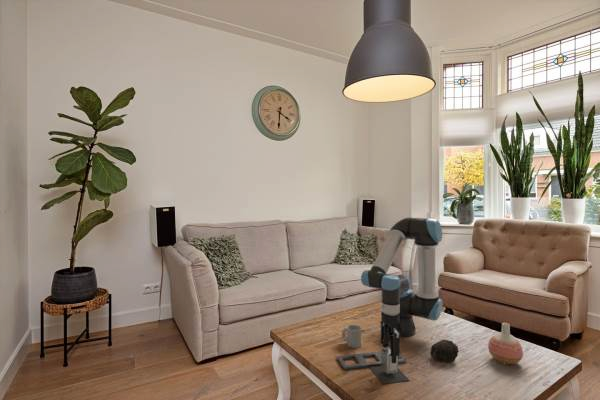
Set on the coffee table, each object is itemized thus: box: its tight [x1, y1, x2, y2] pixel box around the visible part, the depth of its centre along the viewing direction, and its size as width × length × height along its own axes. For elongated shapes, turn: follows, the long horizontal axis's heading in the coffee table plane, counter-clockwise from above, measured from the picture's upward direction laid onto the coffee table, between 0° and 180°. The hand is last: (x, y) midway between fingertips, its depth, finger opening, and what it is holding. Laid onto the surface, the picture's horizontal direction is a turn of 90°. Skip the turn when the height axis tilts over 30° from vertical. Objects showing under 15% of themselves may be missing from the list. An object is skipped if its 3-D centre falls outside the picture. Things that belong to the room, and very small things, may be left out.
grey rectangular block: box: [381, 348, 399, 374], centre depth 139 cm, size 5×5×8 cm
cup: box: [341, 324, 362, 349], centre depth 166 cm, size 7×10×9 cm
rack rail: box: [336, 350, 407, 371], centre depth 150 cm, size 30×10×1 cm, turn 102°
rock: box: [429, 339, 459, 363], centre depth 152 cm, size 10×11×10 cm
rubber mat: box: [369, 366, 410, 385], centre depth 139 cm, size 12×12×1 cm
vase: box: [487, 322, 524, 365], centre depth 150 cm, size 14×14×18 cm
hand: (389, 365), depth 139 cm, fingers closed on grey rectangular block, 5 cm apart
